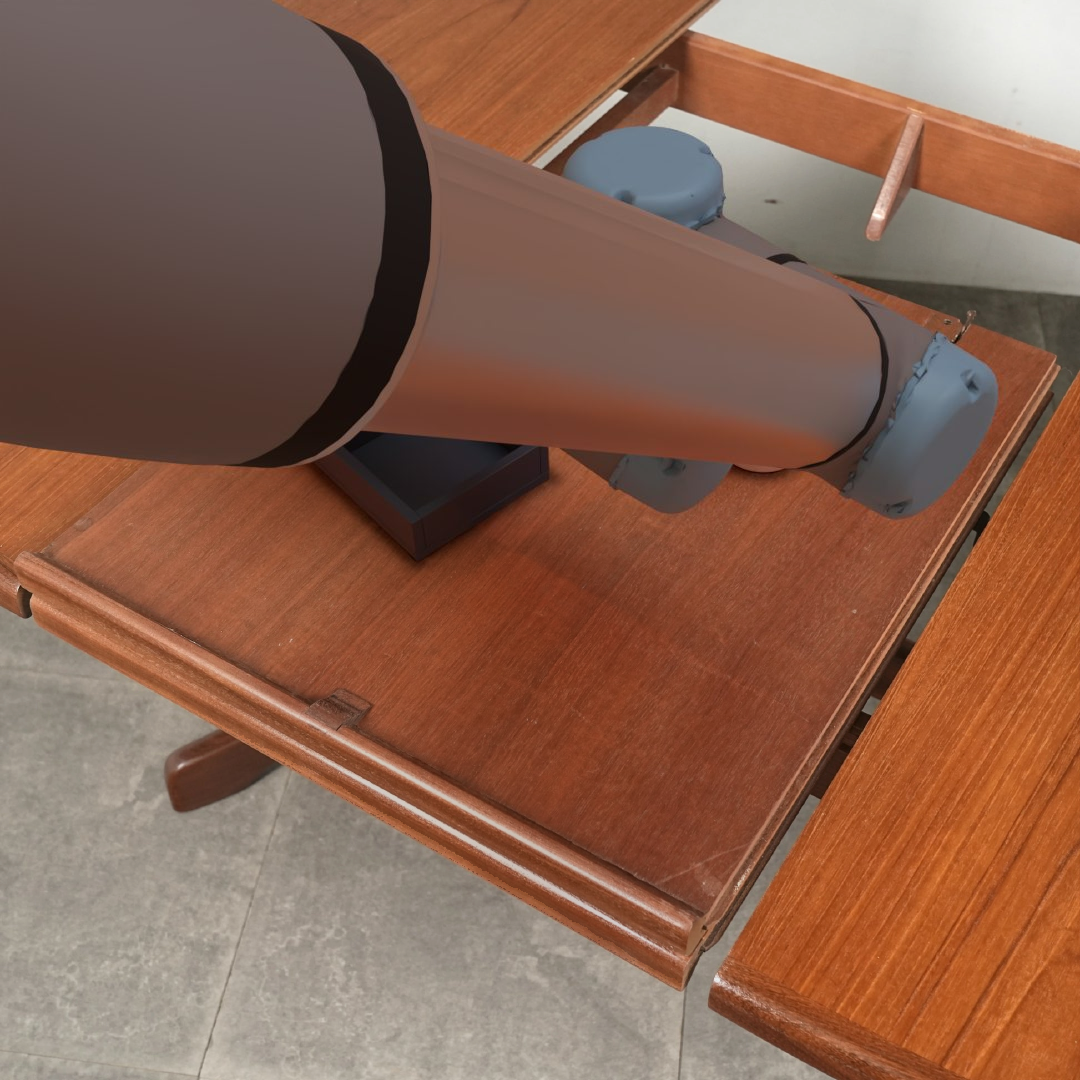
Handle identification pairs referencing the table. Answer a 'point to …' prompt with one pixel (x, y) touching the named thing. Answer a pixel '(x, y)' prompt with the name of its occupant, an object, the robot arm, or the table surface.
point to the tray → (432, 482)
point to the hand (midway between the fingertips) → (268, 190)
